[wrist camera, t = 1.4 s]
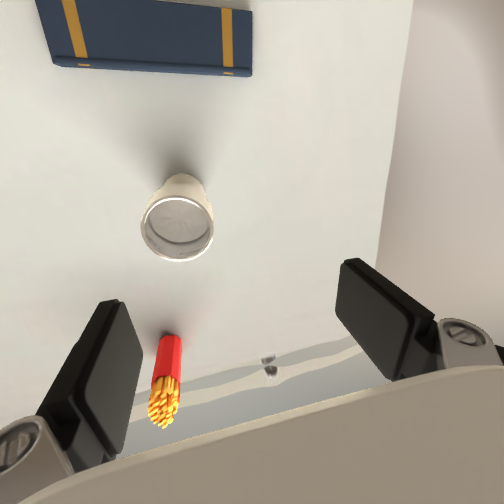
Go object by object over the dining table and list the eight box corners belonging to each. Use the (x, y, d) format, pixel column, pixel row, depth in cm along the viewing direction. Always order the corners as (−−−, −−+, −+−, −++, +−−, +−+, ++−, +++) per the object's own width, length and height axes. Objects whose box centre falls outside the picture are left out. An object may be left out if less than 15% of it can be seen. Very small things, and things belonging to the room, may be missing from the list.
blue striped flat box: (58, 67, 27) (52, 64, 26) (36, -9, 24) (29, -15, 23) (250, 78, 31) (252, 76, 30) (250, 14, 28) (252, 10, 27)
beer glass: (157, 168, 33) (133, 191, 20) (208, 171, 35) (216, 194, 22) (160, 216, 36) (142, 264, 23) (207, 217, 38) (215, 262, 25)
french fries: (182, 362, 50) (179, 429, 39) (160, 364, 49) (150, 434, 38) (180, 328, 46) (176, 392, 35) (157, 330, 45) (144, 396, 34)
